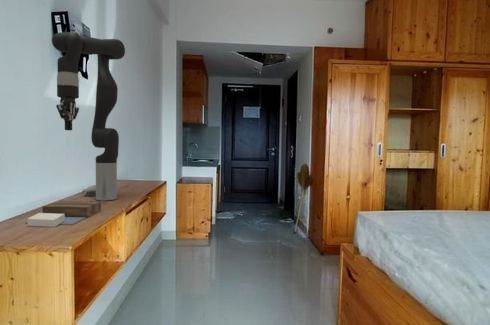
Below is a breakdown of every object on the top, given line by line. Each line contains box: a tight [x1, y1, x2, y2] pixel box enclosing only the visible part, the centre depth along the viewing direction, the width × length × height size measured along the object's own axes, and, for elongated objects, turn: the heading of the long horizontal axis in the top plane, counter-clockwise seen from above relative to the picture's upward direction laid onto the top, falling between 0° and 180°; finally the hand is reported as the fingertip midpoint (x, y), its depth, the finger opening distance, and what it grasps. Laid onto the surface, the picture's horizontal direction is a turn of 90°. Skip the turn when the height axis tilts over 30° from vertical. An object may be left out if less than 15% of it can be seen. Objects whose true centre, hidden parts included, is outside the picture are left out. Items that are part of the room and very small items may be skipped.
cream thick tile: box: [26, 212, 65, 228], centre depth 115 cm, size 6×9×2 cm, turn 87°
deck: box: [42, 200, 102, 219], centre depth 131 cm, size 12×16×4 cm
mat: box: [24, 217, 87, 226], centre depth 120 cm, size 10×16×1 cm, turn 89°
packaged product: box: [81, 184, 96, 197], centre depth 176 cm, size 18×5×10 cm
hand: (68, 130), depth 134 cm, fingers closed
